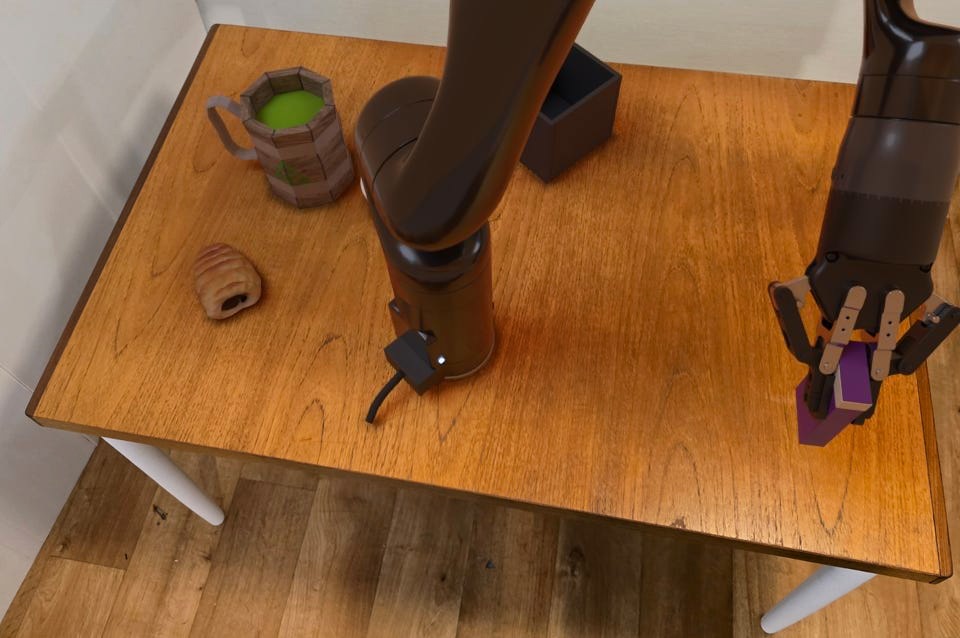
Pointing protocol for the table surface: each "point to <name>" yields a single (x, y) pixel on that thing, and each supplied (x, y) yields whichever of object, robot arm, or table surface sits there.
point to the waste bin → (573, 115)
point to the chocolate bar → (838, 398)
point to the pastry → (224, 280)
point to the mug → (291, 135)
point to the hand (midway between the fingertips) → (835, 418)
